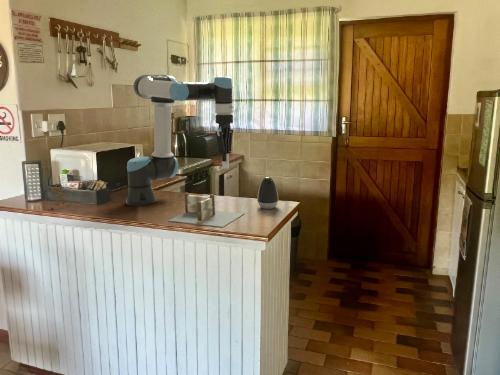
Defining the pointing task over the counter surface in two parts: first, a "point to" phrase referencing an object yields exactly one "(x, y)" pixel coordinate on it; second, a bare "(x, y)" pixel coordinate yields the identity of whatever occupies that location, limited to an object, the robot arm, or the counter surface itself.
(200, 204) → the folding fence panel
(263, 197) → the egg-shaped speaker
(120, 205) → the counter surface
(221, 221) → the board
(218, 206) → the counter surface
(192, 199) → the fixed fence section
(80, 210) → the counter surface
